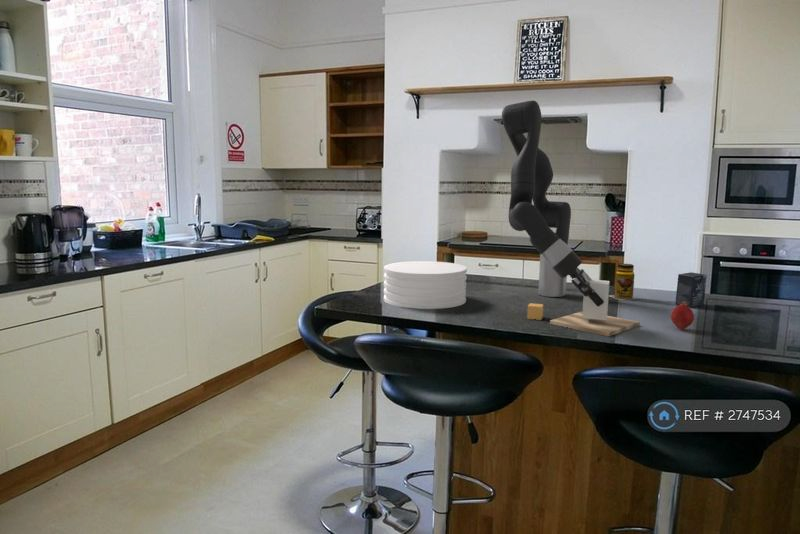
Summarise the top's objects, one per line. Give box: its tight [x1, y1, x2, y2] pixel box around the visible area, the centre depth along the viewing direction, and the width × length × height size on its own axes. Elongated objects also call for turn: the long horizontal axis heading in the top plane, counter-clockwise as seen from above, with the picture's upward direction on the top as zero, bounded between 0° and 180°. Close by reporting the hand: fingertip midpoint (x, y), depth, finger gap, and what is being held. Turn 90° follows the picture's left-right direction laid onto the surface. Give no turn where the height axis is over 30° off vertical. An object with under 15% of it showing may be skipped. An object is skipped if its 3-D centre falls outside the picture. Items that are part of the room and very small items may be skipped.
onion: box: [670, 302, 695, 331], centre depth 162 cm, size 6×6×8 cm
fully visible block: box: [526, 302, 544, 321], centre depth 174 cm, size 4×4×4 cm
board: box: [549, 310, 641, 337], centre depth 167 cm, size 18×18×1 cm
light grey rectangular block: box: [582, 279, 610, 320], centre depth 166 cm, size 6×6×10 cm
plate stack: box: [383, 260, 468, 310], centre depth 198 cm, size 28×28×12 cm
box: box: [675, 271, 708, 309], centre depth 193 cm, size 8×6×11 cm
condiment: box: [608, 263, 639, 301], centre depth 205 cm, size 7×8×12 cm
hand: (601, 301), depth 165 cm, fingers closed on light grey rectangular block, 6 cm apart
